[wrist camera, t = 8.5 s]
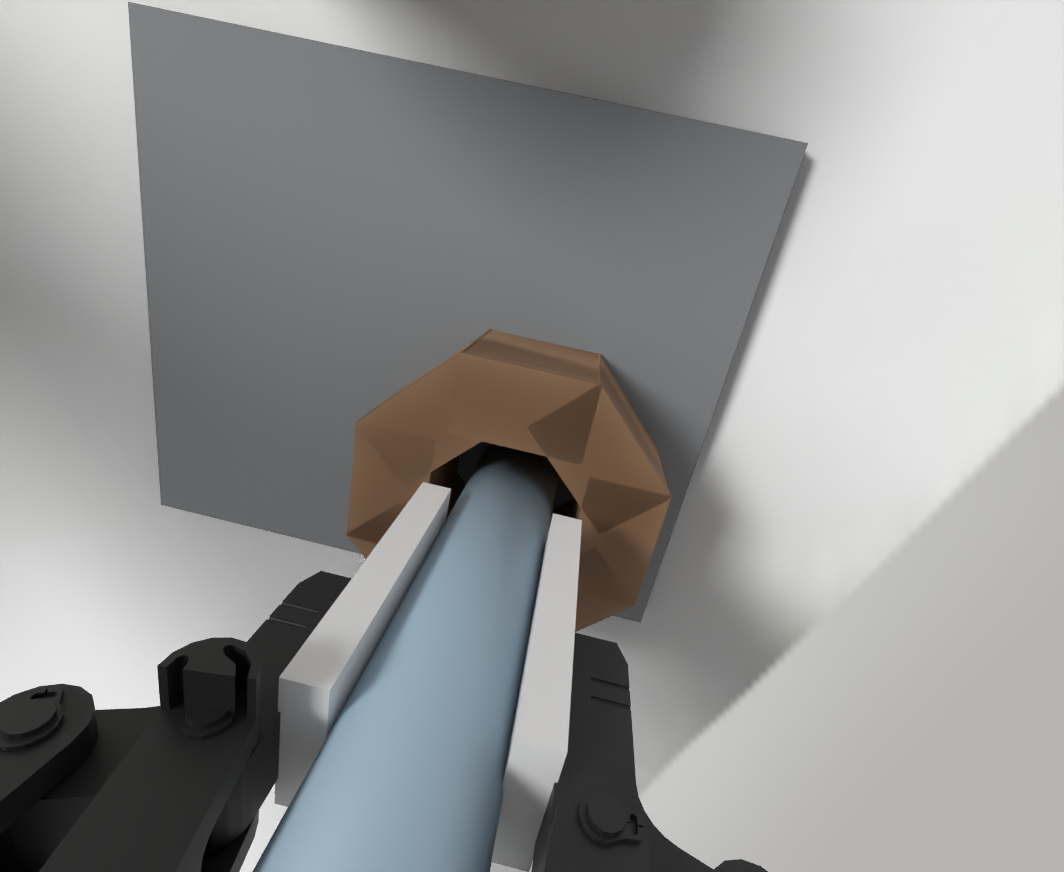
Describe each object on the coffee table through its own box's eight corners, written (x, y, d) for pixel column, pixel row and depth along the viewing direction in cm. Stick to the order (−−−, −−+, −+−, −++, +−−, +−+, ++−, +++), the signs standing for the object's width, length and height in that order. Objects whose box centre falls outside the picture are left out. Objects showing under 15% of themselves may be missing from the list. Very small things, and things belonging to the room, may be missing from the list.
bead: (386, 539, 21) (340, 604, 17) (412, 310, 17) (362, 329, 14) (610, 593, 20) (612, 672, 17) (680, 371, 17) (702, 407, 13)
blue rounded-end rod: (471, 499, 19) (-13, 1469, 4) (484, 425, 18) (-106, 1366, 3) (549, 518, 19) (358, 1593, 4) (568, 445, 18) (401, 1533, 3)
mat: (172, 497, 22) (161, 504, 21) (144, 10, 16) (128, 2, 15) (639, 612, 21) (640, 622, 21) (800, 147, 15) (807, 143, 15)
